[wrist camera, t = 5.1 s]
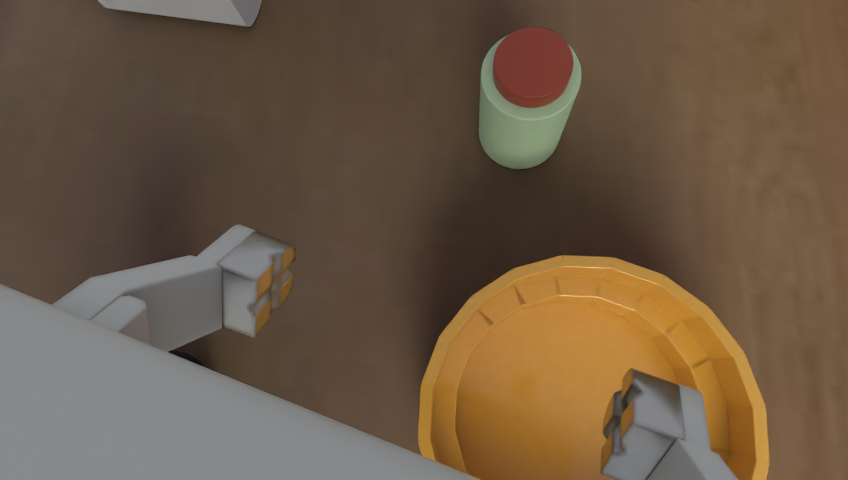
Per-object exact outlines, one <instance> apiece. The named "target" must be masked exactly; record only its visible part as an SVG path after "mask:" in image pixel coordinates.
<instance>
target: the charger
mask: <svg viewBox="0 0 848 480" xmlns="http://www.w3.org/2000/svg"><path fill="white" fill-rule="evenodd" d="M98 1H99V2H100V3H101V4H102V5H103V6H104V7H106V8H109V9H117V10H124V11H132V12H140V13H147V14H155V15H162V16H170V17H178V18H185V19H193V20H201V21H208V22H216V23H224V24H231V25H239V26H246V27H250V26H252V24H253V23H254V22H255V20H256V18H257V15H258V12H259V9H260V6H261V3H262V0H98Z"/></svg>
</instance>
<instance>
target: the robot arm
mask: <svg viewBox="0 0 848 480" xmlns="http://www.w3.org/2000/svg"><path fill="white" fill-rule="evenodd" d="M295 258H296V248H295V247H294V245H292V244H290V243H287V242H285V241H282V240H279V239H277V238H274V237H272V236H269V235H267V234H264V233H261V232H259V231H255V230H253V229H250V228H248V227H245V226H242V225H240V224H239V225H234V226H233V227H232V228H230V229H229V230H228V231H227V232H225V233H224V234H223V235H222V236H221V237H219V238H218V239H217V240H216V241H215V242H213V243H212V244H211V245H210V246H209V247H207V248H206V249H205V250H204V251H202V252H201V253H200V254H199V255H198V256H196V257H195V256H192V255H188V256H184V257H179V258H175V259H171V260H166V261H162V262H157V263H153V264H148V265H144V266H140V267H135V268H131V269H126V270H122V271H118V272H113V273H109V274H104V275H100V276H96V277H91V278H89V279H88V280H86V281H85V282H83V283H82V284H80V285H79V286H78V287H76V288H75V289H73V290H72V291H71V292H69V293H68V294H66V295H65V296H63V297H62V298H61V299H59V300H58V301H56V302H55V303H54V304H52V305H51V304H48V303H46V302H43V301H41V300H38V299H36V298H34V297H31V296H29V295H26V294H24V293H21V292H19V291H16V290H14V289H11V288H9V287H7V286H4V285H2V284H0V480H480V479H478V478H475V477H473V476H471V475H468V474H466V473H463V472H461V471H458V470H456V469H453V468H451V467H449V466H446V465H444V464H441V463H439V462H436V461H434V460H431V459H429V458H427V457H424V456H422V455H419V454H417V453H414V452H412V451H409V450H407V449H404V448H402V447H399V446H397V445H395V444H392V443H390V442H387V441H385V440H382V439H380V438H377V437H375V436H372V435H370V434H367V433H365V432H363V431H360V430H358V429H355V428H353V427H350V426H348V425H345V424H343V423H340V422H338V421H335V420H333V419H331V418H328V417H326V416H323V415H321V414H318V413H316V412H313V411H311V410H308V409H306V408H303V407H301V406H299V405H296V404H294V403H291V402H289V401H286V400H284V399H281V398H279V397H276V396H274V395H272V394H269V393H267V392H264V391H262V390H259V389H257V388H254V387H252V386H249V385H247V384H245V383H242V382H240V381H237V380H235V379H232V378H230V377H227V376H225V375H222V374H220V373H218V372H215V371H213V370H210V369H208V368H205V367H203V366H200V365H198V364H195V363H193V362H190V361H188V360H186V359H183V358H181V357H178V356H176V355H173V354H171V353H168V352H169V351H171V350H173V349H176V348H178V347H180V346H183V345H185V344H187V343H189V342H192V341H194V340H196V339H199V338H201V337H203V336H205V335H208V334H210V333H212V332H215V331H217V330H219V329H221V328H222V326H223V327H226V328H228V329H231V330H234V331H237V332H239V333H242V334H245V335H248V336H250V337H253V338H255V337H256V336H257V335H258V334H259V333H260V331H261V330H262V329H263V328H264V327H265V326H266V324H267V323H268V322H269V321H270V312H272V311H275V310H278V309H280V308H281V307H282V305H283V304H284V303H285V302H286V300H287V298H288V296H289V294H290V292H291V289H292V285H293V281H294V273H293V271H292V269H291V267H290V265H291V264H292V263H293V262H294V260H295ZM602 433H603V434H604V436H605V438H606V439H607V440H606V442H605V444H604V445H603V447H602V449H601V470H600V474H602V475H604V476H606V477H609V478H611V479H613V480H738V479H737V478H736V476H735V475H734V474H733V472H732V471H731V470H730V468H729V467H728V466H727V465H726V463H725V462H724V461H723V459H722V458H721V457H720V455H719V454H718V453H715V452H713V451H711V446H710V440H709V433H708V426H707V420H706V413H705V407H704V400H703V395H702V393H701V392H700V391H698V390H695V389H692V388H689V387H686V386H683V385H680V384H677V383H676V384H675V383H673V382H670V381H667V380H664V379H662V378H659V377H656V376H653V375H650V374H648V373H645V372H642V371H639V370H636V369H634V368H630V369H629V370H628V371H627V372H626V374H625V375H624V377H623V379H622V390H620V391H617V392H614V394H613V396H612V398H611V399H610V401H609V403H608V406H607V409H606V412H605V415H604V421H603V430H602Z"/></svg>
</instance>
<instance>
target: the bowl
mask: <svg viewBox="0 0 848 480" xmlns="http://www.w3.org/2000/svg"><path fill="white" fill-rule="evenodd" d="M743 352H744V351H743V350H742V348H741V347H740V346H739V344H738V343H737V342H736V341H735V339H734V338H733V337H732V336H731V334H730V333H729V332H728V330H727V329H726V328H725V327H724V325H723V324H722V323H721V321H720V320H719V319H718V318H717V316H716V315H715V314H714V312H713V311H712V310H711V309H710V308H709V307H708V306H707V305H706V304H704V303H703V302H702V301H700V300H699V299H697V298H696V297H695V296H693V295H692V294H690V293H689V292H688V291H686V290H685V289H683V288H682V287H681V286H679V285H678V284H677V283H675V282H674V281H672V280H671V279H670V278H668V277H667V276H665V275H663V274H661V273H658V272H655V271H653V270H650V269H647V268H644V267H641V266H638V265H635V264H632V263H630V262H627V261H624V260H621V259H618V258H615V257H614V258H613V257H601V256H576V255H560V256H556V257H552V258H549V259H545V260H541V261H538V262H534V263H530V264H527V265H523V266H519V267H516V268H513V269H511V270H510V271H508V272H507V273H505V274H503V275H502V276H500V277H499V278H497V279H496V280H494V281H493V282H491V283H490V284H488V285H487V286H485V287H484V288H482V289H481V290H479V291H478V292H476V293H475V294H473V295H472V296H471V297H470V298H469V299H468V300H467V301H466V303H465V304H464V305H463V306H462V308H461V309H460V310H459V311H458V313H457V314H456V315H455V316H454V318H453V319H452V320H451V321H450V323H449V324H448V325H447V326H446V328H445V329H444V330H443V331H442V333H441V334H440V336H439V337H438V340H437V343H436V345H435V348H434V350H433V353H432V356H431V358H430V361H429V364H428V366H427V369H426V372H425V374H424V377H423V380H422V382H421V386H420V403H419V420H418V444H419V448H420V452H421V455H422V456H424V457H427V458H429V459H431V460H434V461H436V462H439V463H441V464H444V465H446V466H449V467H451V468H453V469H456V470H458V471H461V472H463V473H466V474H468V475H471V476H473V477H475V478H478V479H480V480H613V479H611V478H609V477H606V476H604V475H602V474H600V470H601V449H602V447H603V445H604V444H605V442H606V440H607V439H606V438H605V436H604V434H603V433H602V430H603V421H604V415H605V412H606V409H607V406H608V403H609V401H610V399H611V398H612V396H613V394H614V392H617V391H620V390H622V379H623V377H624V375H625V374H626V372H627V371H628V370H629V369H630V368H634V369H636V370H639V371H642V372H645V373H648V374H650V375H653V376H656V377H659V378H662V379H664V380H667V381H670V382H673V383H675V384H676V383H677V384H680V385H683V386H686V387H689V388H692V389H695V390H698V391H700V392H701V393H702V395H703V400H704V407H705V413H706V420H707V426H708V433H709V440H710V446H711V451H713V452H715V453H718V454H719V455H720V457H721V458H722V459H723V461H724V462H725V463H726V465H727V466H728V467H729V468H730V470H731V471H732V472H733V474H734V475H735V476H736V478H737V479H738V480H766V477H767V474H768V470H769V464H770V458H769V444H768V430H767V416H766V407H765V403H764V401H763V398H762V396H761V393H760V391H759V388H758V385H757V383H756V380H755V378H754V375H753V373H752V370H751V368H750V365H749V362H748V360H747V357H746V355H745V353H743Z"/></svg>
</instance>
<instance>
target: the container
mask: <svg viewBox="0 0 848 480" xmlns="http://www.w3.org/2000/svg"><path fill="white" fill-rule="evenodd" d="M580 84H581V67H580V63H579V60H578V58H577V56H576V54H575V52H574V51H573V50H572V48H571V47H570V46H569V45H568V44H567V42H566V41H565V40H564V39H563V38H562V37H561V36H560V35H558V34H557V33H555V32H554V31H551V30H549V29H546V28H542V27H526V28H522V29H518V30H516V31H514V32H512V33H510V34H509V35H507V36H505V37H504V38H502V39H501V40H499V41H498V42H497V43H496V44H495V45H494V46H493V47H492V48H491V49H490V50H489V51H488V53H487V55H486V56H485V59H484V61H483V64H482V68H481V80H480V109H479V138H480V142H481V145H482V147H483V149H484V151H485V152H486V154H487V155H488V156H489V157H490V158H491V159H492V160H494V161H495V162H497V163H498V164H500V165H502V166H505V167H508V168H512V169H526V168H531V167H534V166H537V165H539V164H541V163H542V162H544V161H545V160H547V159H548V158H549V157H550V156H551V155H552V153H553V152H554V151H555V149H556V147H557V145H558V142H559V140H560V137H561V134H562V132H563V129H564V127H565V124H566V122H567V119H568V116H569V114H570V111H571V109H572V106H573V103H574V101H575V98H576V96H577V93H578V91H579V88H580Z"/></svg>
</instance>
